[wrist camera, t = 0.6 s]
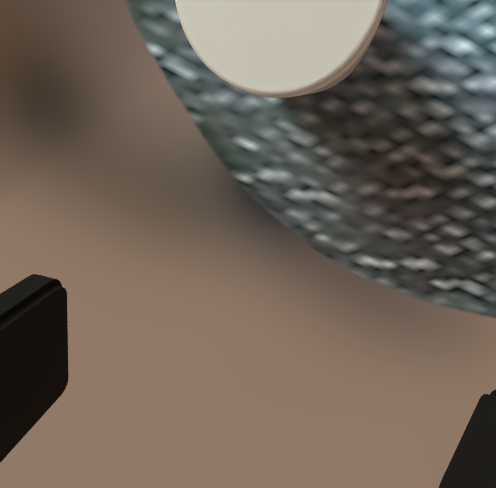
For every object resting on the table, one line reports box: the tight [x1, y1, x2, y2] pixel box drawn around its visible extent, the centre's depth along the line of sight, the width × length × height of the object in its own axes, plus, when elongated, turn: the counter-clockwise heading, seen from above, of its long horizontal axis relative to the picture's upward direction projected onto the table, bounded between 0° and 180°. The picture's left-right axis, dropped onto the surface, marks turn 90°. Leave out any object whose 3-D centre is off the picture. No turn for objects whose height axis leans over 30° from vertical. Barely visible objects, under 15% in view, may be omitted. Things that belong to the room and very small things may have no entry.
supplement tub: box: [175, 0, 387, 98], centre depth 24 cm, size 10×10×15 cm
